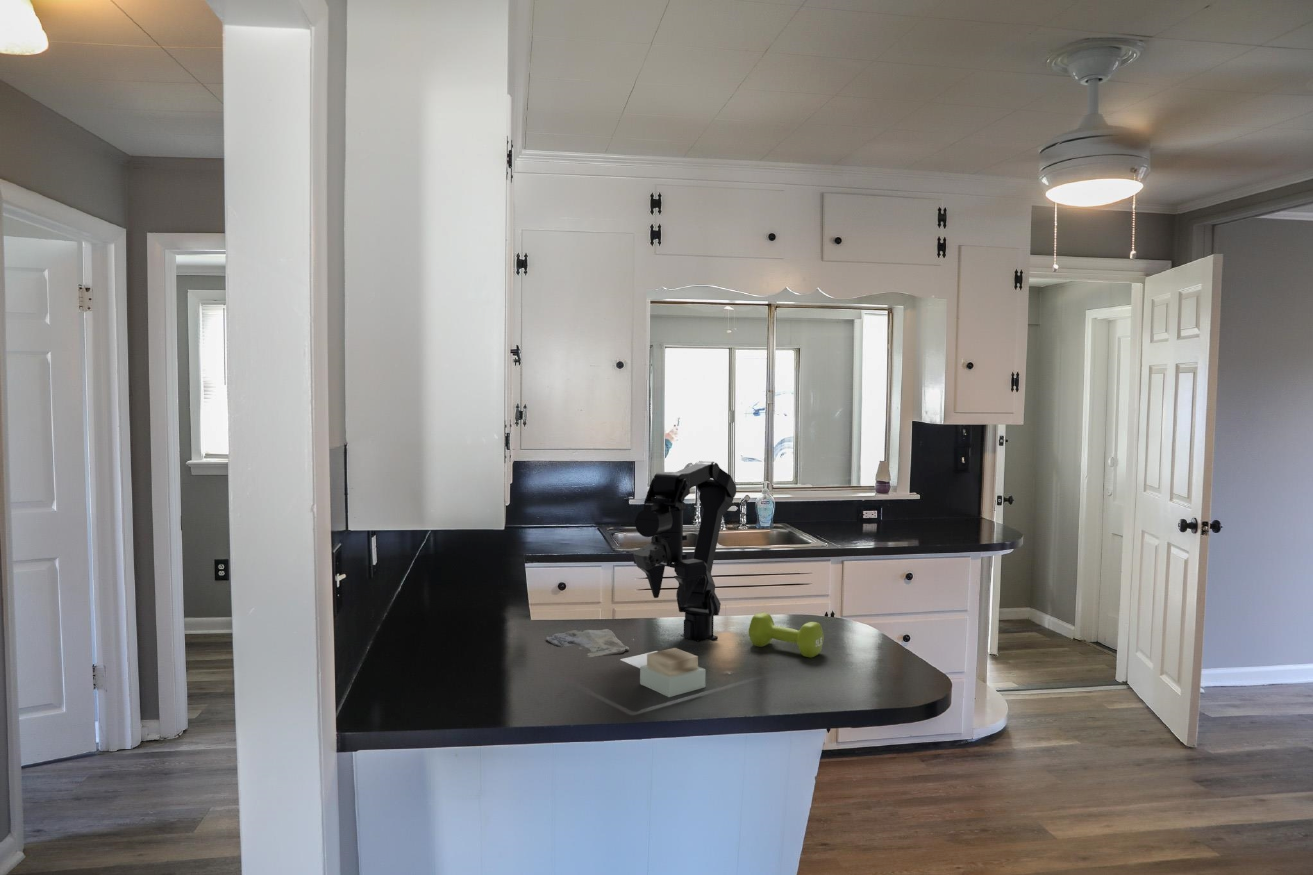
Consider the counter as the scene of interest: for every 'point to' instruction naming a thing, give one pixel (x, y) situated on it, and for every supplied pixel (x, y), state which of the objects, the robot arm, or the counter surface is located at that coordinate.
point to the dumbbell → (786, 634)
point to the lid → (672, 661)
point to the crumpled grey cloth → (590, 641)
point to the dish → (672, 681)
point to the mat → (637, 660)
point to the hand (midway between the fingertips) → (669, 601)
